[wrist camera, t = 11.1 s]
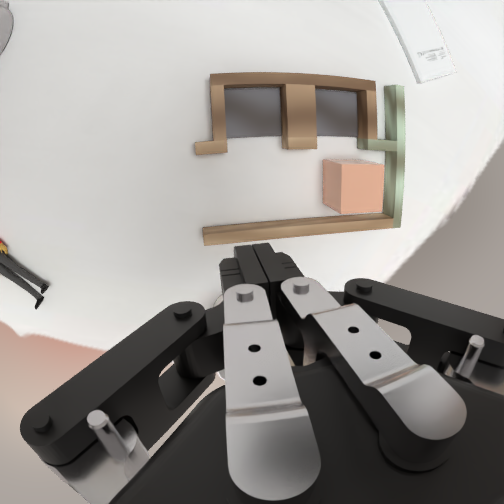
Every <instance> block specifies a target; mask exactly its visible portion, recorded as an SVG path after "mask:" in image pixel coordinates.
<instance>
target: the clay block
mask: <svg viewBox="0 0 504 504" xmlns="http://www.w3.org/2000/svg"><path fill="white" fill-rule="evenodd" d="M383 186H384V165H383V164H379V163H374V162H370V161H365V160H338V159H332V160H323V203H324V204H325V205H327V206H329V207H330V208H332V209H333V210H335V211H337V212H338V213H340V214H347V213H363V212H380V211H382V204H383Z"/></svg>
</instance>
